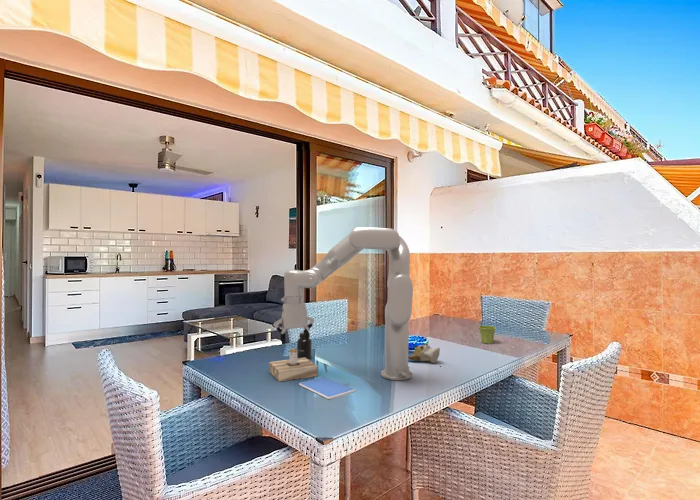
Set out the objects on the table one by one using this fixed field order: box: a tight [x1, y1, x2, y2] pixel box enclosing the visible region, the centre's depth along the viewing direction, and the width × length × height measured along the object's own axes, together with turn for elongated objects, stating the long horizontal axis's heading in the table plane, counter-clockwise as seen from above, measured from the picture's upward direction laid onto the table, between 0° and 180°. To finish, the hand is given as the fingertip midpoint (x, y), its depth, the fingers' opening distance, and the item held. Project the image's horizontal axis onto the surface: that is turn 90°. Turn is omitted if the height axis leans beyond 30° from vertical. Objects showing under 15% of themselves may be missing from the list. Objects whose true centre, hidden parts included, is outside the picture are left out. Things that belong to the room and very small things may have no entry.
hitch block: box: [269, 358, 319, 383], centre depth 159 cm, size 14×16×4 cm
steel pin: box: [288, 348, 297, 366], centre depth 159 cm, size 3×3×10 cm
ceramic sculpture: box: [408, 343, 441, 364], centre depth 179 cm, size 11×9×15 cm
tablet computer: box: [298, 376, 356, 400], centre depth 143 cm, size 19×13×1 cm, turn 40°
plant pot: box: [478, 325, 497, 345], centre depth 216 cm, size 9×9×9 cm
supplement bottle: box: [296, 331, 313, 360], centre depth 182 cm, size 7×7×12 cm
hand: (294, 341), depth 159 cm, fingers open, 9 cm apart
